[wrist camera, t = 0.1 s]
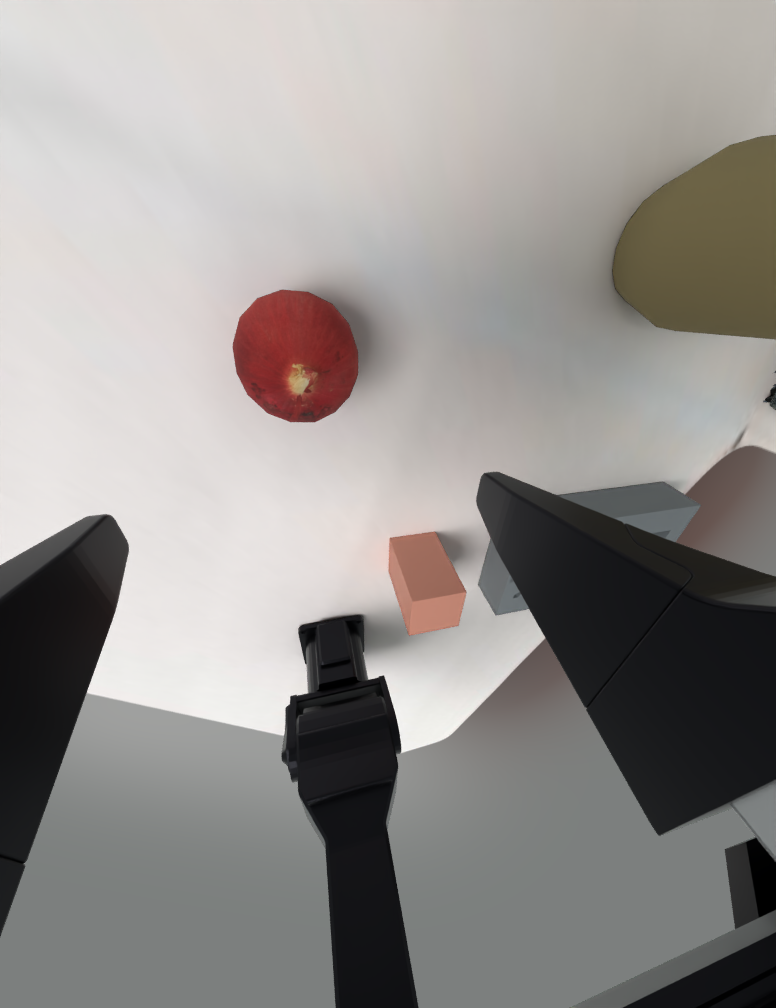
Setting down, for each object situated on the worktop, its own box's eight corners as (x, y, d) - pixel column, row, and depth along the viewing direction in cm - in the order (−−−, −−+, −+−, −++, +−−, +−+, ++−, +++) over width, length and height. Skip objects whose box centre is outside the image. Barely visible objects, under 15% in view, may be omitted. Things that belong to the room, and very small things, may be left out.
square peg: (430, 564, 34) (458, 625, 28) (388, 570, 33) (408, 635, 27) (434, 531, 31) (466, 592, 26) (389, 538, 30) (412, 601, 25)
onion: (346, 395, 22) (370, 453, 16) (250, 394, 21) (234, 458, 14) (348, 288, 19) (379, 308, 12) (233, 278, 17) (203, 296, 11)
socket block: (617, 559, 41) (644, 585, 38) (478, 584, 37) (495, 615, 34) (663, 481, 34) (701, 505, 31) (500, 502, 31) (524, 531, 28)
